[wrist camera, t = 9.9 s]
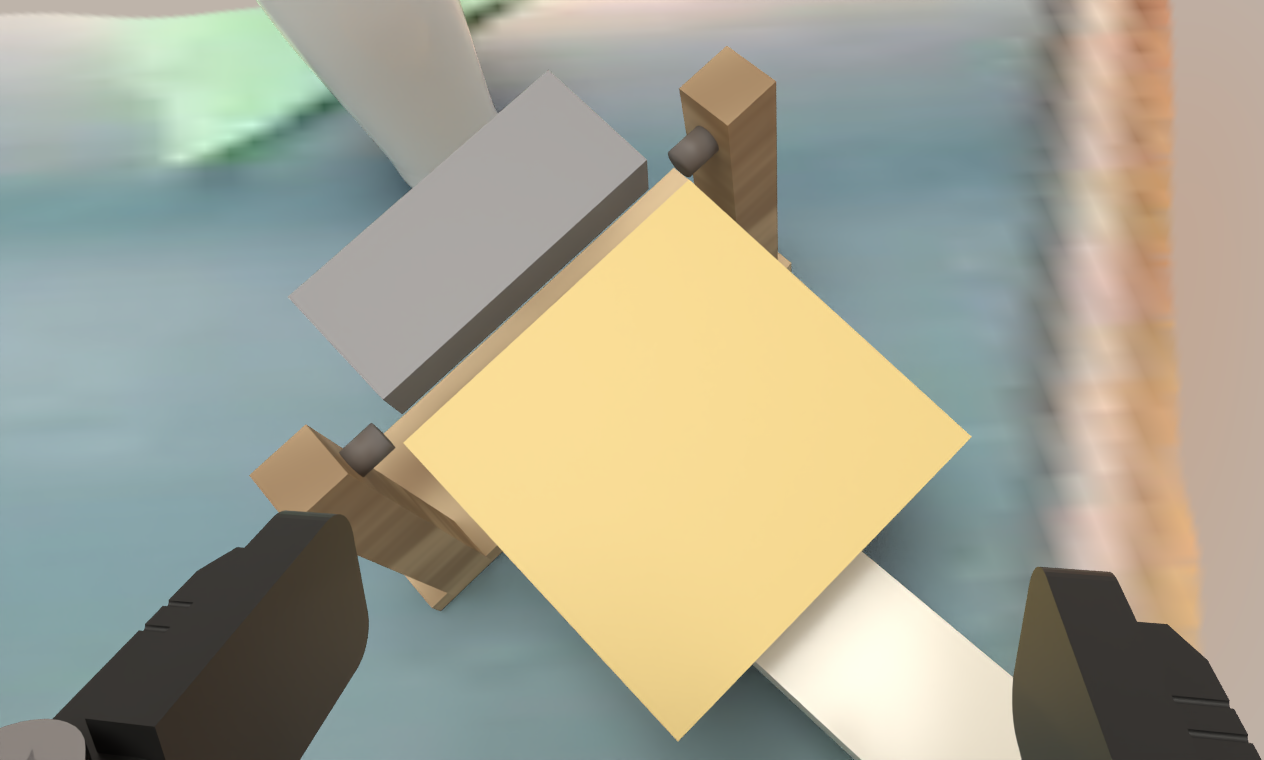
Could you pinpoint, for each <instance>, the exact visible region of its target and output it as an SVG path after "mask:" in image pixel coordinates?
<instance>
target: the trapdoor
mask: <svg viewBox="0 0 1264 760" xmlns="http://www.w3.org/2000/svg"><path fill="white" fill-rule="evenodd" d="M648 189H649V188H648V171H647V160H646V159H645V158H644V157H643V156H642V155H641V154H640V153H639V152H638V151H637V150H636V149H634V148H633V147H632V146H631V145H630V144H629V143H628V142H627V141H626V140H625V139H624V138H622V137H621V136H620V135H619V134H618V133H617V132H616V131H615V130H614V129H613V128H612V127H610V126H609V125H608V124H607V123H606V122H605V121H604V120H603V119H602V118H601V117H600V116H598V115H597V114H596V113H595V112H594V111H593V110H592V109H591V108H590V107H589V106H588V105H586V104H585V103H584V102H583V101H582V100H581V99H580V98H579V97H578V96H577V95H576V94H574V93H573V92H572V91H571V90H570V89H569V88H568V87H567V86H566V85H565V84H564V83H562V82H561V81H560V80H559V79H558V78H557V77H556V76H555V75H554V74H553V73H552V72H550V71H549V70H547V71H546V72H545V73H544V74H543V75H542V76H541V77H539V78H538V79H537V80H536V81H535V82H534V83H533V84H531V85H530V86H529V87H528V88H527V89H526V90H525V91H523V92H522V93H521V94H520V95H519V96H518V97H517V98H515V99H514V100H513V101H512V102H511V103H510V104H508V105H507V106H506V107H505V108H504V109H503V110H502V111H500V112H499V113H498V114H497V115H496V116H495V117H494V118H492V119H491V120H490V121H489V122H488V123H487V124H486V125H484V126H483V127H482V128H481V129H480V130H479V131H478V132H476V133H475V134H474V135H473V136H472V137H471V138H469V139H468V140H467V141H466V142H465V143H464V144H463V145H461V146H460V147H459V148H458V149H457V150H456V151H455V152H453V153H452V154H451V155H450V156H449V157H448V158H447V159H445V160H444V161H443V162H442V163H441V164H440V165H439V166H437V167H436V168H435V169H434V170H433V171H432V172H430V173H429V174H428V175H427V176H426V177H425V178H424V179H422V180H421V181H420V182H419V183H418V184H417V185H416V186H414V187H413V188H412V189H411V190H410V191H409V192H408V193H406V194H405V195H404V196H403V197H402V198H401V199H399V200H398V201H397V202H396V203H395V204H394V205H393V206H391V207H390V208H389V209H388V210H387V211H386V212H385V213H383V214H382V215H381V216H380V217H379V218H378V219H377V220H375V221H374V222H373V223H372V224H371V225H370V226H369V227H367V228H366V229H365V230H364V231H363V232H362V233H360V234H359V235H358V236H357V237H356V238H355V239H354V240H352V241H351V242H350V243H349V244H348V245H347V246H346V247H344V248H343V249H342V250H341V251H340V252H339V253H338V254H336V255H335V256H334V257H333V258H332V259H331V260H330V261H328V262H327V263H326V264H325V265H324V266H323V267H321V268H320V269H319V270H318V271H317V272H316V273H315V274H313V275H312V276H311V277H310V278H309V279H308V280H307V281H305V282H304V283H303V284H302V285H301V286H300V287H299V288H297V289H296V290H295V291H294V292H293V293H292V294H290V295H289V296H288V298H289V299H290V300H291V301H292V302H293V303H294V304H295V305H296V306H297V307H298V308H299V310H300V311H301V312H302V313H303V314H304V315H305V316H306V317H307V318H308V319H309V320H310V321H311V322H312V324H313V325H314V326H315V327H316V328H317V329H318V330H319V331H320V332H321V333H322V334H323V335H324V337H325V338H326V339H327V340H328V341H329V342H330V343H331V344H332V345H333V346H334V347H335V348H336V349H337V351H338V352H339V353H340V354H341V355H342V356H343V357H344V358H345V359H346V360H347V361H348V362H349V363H350V365H351V366H352V367H353V368H354V369H355V370H356V371H357V372H358V373H359V374H360V375H361V376H362V378H363V379H364V380H365V381H366V382H367V383H368V384H369V385H370V386H371V387H372V388H373V389H374V390H375V392H376V393H377V394H378V395H379V396H380V397H381V398H382V399H383V400H384V401H385V402H387V403H388V404H389V405H391V406H392V407H393V408H395V409H396V410H397V411H399V412H400V413H401V414H403V413H404V412H405V411H406V410H408V409H409V408H410V407H411V406H412V405H413V404H414V403H415V402H416V401H417V400H418V399H420V398H421V397H422V396H423V395H424V394H425V393H426V392H427V391H428V390H429V389H430V388H432V387H433V386H434V385H435V384H436V383H437V382H438V381H439V380H440V379H441V378H443V377H444V376H445V375H446V374H447V373H448V372H449V371H450V370H451V369H452V368H453V367H455V366H456V365H457V364H458V363H459V362H460V361H461V360H462V359H463V358H464V357H465V356H467V355H468V354H469V353H470V352H471V351H472V350H473V349H474V348H475V347H476V346H477V345H479V344H480V343H481V342H482V341H483V340H484V339H485V338H486V337H487V336H488V335H490V334H491V333H492V332H493V331H494V330H495V329H496V328H497V327H498V326H499V325H500V324H502V323H503V322H504V321H505V320H506V319H507V318H508V317H509V316H510V315H511V314H512V313H514V312H515V311H516V310H517V309H518V308H519V307H520V306H521V305H522V304H523V303H524V302H526V301H527V300H528V299H529V298H530V297H531V296H532V295H533V294H534V293H535V292H536V291H538V290H539V289H540V288H541V287H542V286H543V285H544V284H545V283H546V282H547V281H549V280H550V279H551V278H552V277H553V276H554V275H555V274H556V273H557V272H558V271H559V270H561V269H562V268H563V267H564V266H565V265H566V264H567V263H568V262H569V261H570V260H571V259H573V258H574V257H575V256H576V255H577V254H578V253H579V252H580V251H581V250H582V249H583V248H585V247H586V246H587V245H588V244H589V243H590V242H591V241H592V240H593V239H594V238H596V237H597V236H598V235H599V234H600V233H601V232H602V231H603V230H604V229H605V228H606V227H608V226H609V225H610V224H611V223H612V222H613V221H614V220H615V219H616V218H617V217H618V216H620V215H621V214H622V213H623V212H624V211H625V210H626V209H627V208H628V207H629V206H630V205H632V204H633V203H634V202H635V201H636V200H637V199H638V198H639V197H640V196H641V195H643V194H644V193H645V192H646V191H647V190H648ZM970 438H971V436H970V435H969V434H968V433H967V432H966V431H965V430H963V429H962V428H961V427H960V426H959V425H958V424H957V423H956V422H955V421H954V420H952V419H951V418H950V417H949V416H948V415H947V414H946V413H945V412H944V411H943V410H941V409H940V408H939V407H938V406H937V405H936V404H935V403H934V402H933V401H932V400H930V399H929V398H928V397H927V396H926V395H925V394H924V393H923V392H922V391H921V390H920V389H918V388H917V387H916V386H915V385H914V384H913V383H912V382H911V381H910V380H909V379H907V378H906V377H905V376H904V375H903V374H902V373H901V372H900V371H899V370H898V369H896V368H895V367H894V366H893V365H892V364H891V363H890V362H889V361H888V360H887V359H885V358H884V357H883V356H882V355H881V354H880V353H879V352H878V351H877V350H876V349H875V348H873V347H872V346H871V345H870V344H869V343H868V342H867V341H866V340H865V339H864V338H862V337H861V336H860V335H859V334H858V333H857V332H856V331H855V330H854V329H853V328H851V327H850V326H849V325H848V324H847V323H846V322H845V321H844V320H843V319H842V318H840V317H839V316H838V315H837V314H836V313H835V312H834V311H833V310H832V309H831V308H829V307H828V306H827V305H826V304H825V303H824V302H823V301H822V300H821V299H820V298H819V297H817V296H816V295H815V294H814V293H813V292H812V291H811V290H810V289H809V288H808V287H806V286H805V285H804V284H803V283H802V282H801V281H800V280H799V279H798V278H797V277H795V276H794V275H793V274H792V273H791V272H790V271H789V270H788V269H787V268H786V267H784V266H783V265H782V264H781V263H780V262H779V261H778V260H777V259H776V258H775V257H773V256H772V255H771V254H770V253H769V252H768V251H767V250H766V249H765V248H764V247H763V246H761V245H760V244H759V243H758V242H757V241H756V240H755V239H754V238H753V237H752V236H750V235H749V234H748V233H747V232H746V231H745V230H744V229H743V228H742V227H741V226H739V225H738V224H737V223H736V222H735V221H734V220H733V219H732V218H731V217H730V216H728V215H727V214H726V213H725V212H724V211H723V210H722V209H721V208H720V207H719V206H717V205H716V204H715V203H714V202H713V201H712V200H711V199H710V198H709V197H708V196H707V195H705V194H704V193H703V192H702V191H701V190H700V189H699V188H698V187H697V186H696V185H694V184H693V183H692V182H691V181H690V180H688V181H687V182H686V183H685V184H684V185H683V186H681V187H680V188H679V189H678V190H677V191H676V192H675V193H674V194H673V195H672V196H671V197H670V198H668V199H667V200H666V201H665V202H664V203H663V204H662V205H661V206H660V207H659V208H658V209H656V210H655V211H654V212H653V213H652V214H651V215H650V216H649V217H648V218H647V219H646V220H645V221H643V222H642V223H641V224H640V225H639V226H638V227H637V228H636V229H635V230H634V231H633V232H632V233H630V234H629V235H628V236H627V237H626V238H625V239H624V240H623V241H622V242H621V243H620V244H618V245H617V246H616V247H615V248H614V249H613V250H612V251H611V252H610V253H609V254H608V255H607V256H605V257H604V258H603V259H602V260H601V261H600V262H599V263H598V264H597V265H596V266H595V267H593V268H592V269H591V270H590V271H589V272H588V273H587V274H586V275H585V276H584V277H583V278H582V279H580V280H579V281H578V282H577V283H576V284H575V285H574V286H573V287H572V288H571V289H570V290H569V291H567V292H566V293H565V294H564V295H563V296H562V297H561V298H560V299H559V300H558V301H557V302H555V303H554V304H553V305H552V306H551V307H550V308H549V309H548V310H547V311H546V312H545V313H544V314H542V315H541V316H540V317H539V318H538V319H537V320H536V321H535V322H534V323H533V324H532V325H531V326H529V327H528V328H527V329H526V330H525V331H524V332H523V333H522V334H521V335H520V336H519V337H517V338H516V339H515V340H514V341H513V342H512V343H511V344H510V345H509V346H508V347H507V348H506V349H504V350H503V351H502V352H501V353H500V354H499V355H498V356H497V357H496V358H495V359H494V360H493V361H491V362H490V363H489V364H488V365H487V366H486V367H485V368H484V369H483V370H482V371H481V372H479V373H478V374H477V375H476V376H475V377H474V378H473V379H472V380H471V381H470V382H469V383H468V384H466V385H465V386H464V387H463V388H462V389H461V390H460V391H459V392H458V393H457V394H456V395H454V396H453V397H452V398H451V399H450V400H449V401H448V402H447V403H446V404H445V405H444V406H443V407H441V408H440V409H439V410H438V411H437V412H436V413H435V414H434V415H433V416H432V417H431V418H430V419H428V420H427V421H426V422H425V423H424V424H423V425H422V426H421V427H420V428H419V429H418V430H416V431H415V432H414V433H413V434H412V435H411V436H410V437H409V438H408V439H407V440H406V441H405V442H403V443H404V444H405V446H406V447H407V448H408V449H409V450H410V451H411V452H412V453H413V454H414V455H415V456H416V457H417V459H418V460H419V461H420V462H421V463H422V464H423V465H424V466H425V467H426V468H427V469H428V471H429V472H430V473H431V474H432V475H433V476H434V477H435V478H436V479H437V480H438V481H439V482H440V484H441V485H442V486H443V487H444V488H445V489H446V490H447V491H448V492H449V493H450V494H451V496H452V497H453V498H454V499H455V500H456V501H457V502H458V503H459V504H460V505H461V506H462V507H463V509H464V510H465V511H466V512H467V513H468V514H469V515H470V516H471V517H472V518H473V519H474V520H475V522H476V523H477V524H478V525H479V526H480V527H481V528H482V529H483V530H484V531H485V532H486V534H487V535H488V536H489V537H490V538H491V539H492V540H493V541H494V542H495V543H496V544H497V545H498V547H499V548H500V549H501V550H502V551H503V552H504V553H505V554H506V555H507V556H508V557H509V559H510V560H511V561H512V562H513V563H514V564H515V565H516V566H517V567H518V568H519V569H520V570H521V572H522V573H523V574H524V575H525V576H526V577H527V578H528V579H529V580H530V581H531V582H532V584H533V585H534V586H535V587H536V588H537V589H538V590H539V591H540V592H541V593H542V594H543V595H544V597H545V598H546V599H547V600H548V601H549V602H550V603H551V604H552V605H553V606H554V607H555V608H556V610H557V611H558V612H559V613H560V614H561V615H562V616H563V617H564V618H565V619H566V620H567V622H568V623H569V624H570V625H571V626H572V627H573V628H574V629H575V630H576V631H577V632H578V633H579V635H580V636H581V637H582V638H583V639H584V640H585V641H586V642H587V643H588V644H589V645H590V647H591V648H592V649H593V650H594V651H595V652H596V653H597V654H598V655H599V656H600V657H601V658H602V660H603V661H604V662H605V663H606V664H607V665H608V666H609V667H610V668H611V669H612V670H613V672H614V673H615V674H616V675H617V676H618V677H619V678H620V679H621V680H622V681H623V682H624V683H625V685H626V686H627V687H628V688H629V689H630V690H631V691H632V692H633V693H634V694H635V695H636V697H637V698H638V699H639V700H640V701H641V702H642V703H643V704H644V705H645V706H646V707H647V708H648V710H649V711H650V712H651V713H652V714H653V715H654V716H655V717H656V718H657V719H658V720H659V721H660V723H661V724H662V725H663V726H664V727H665V728H666V729H667V730H668V731H669V732H670V733H671V735H672V736H673V737H674V738H675V739H676V740H677V741H679V740H680V739H681V738H682V737H683V736H684V735H685V734H686V733H687V732H688V731H689V729H690V728H691V727H692V726H693V725H694V724H695V723H696V722H697V721H698V720H699V719H700V718H701V717H702V716H703V715H704V714H705V713H706V712H707V711H708V710H709V709H710V708H711V707H712V706H713V705H714V704H715V703H716V701H717V700H718V699H719V698H720V697H721V696H722V695H723V694H724V693H725V692H726V691H727V690H728V689H729V688H730V687H731V686H732V685H733V684H734V683H735V682H736V681H737V680H738V679H739V678H740V677H741V676H742V675H743V673H744V672H745V671H746V670H747V669H748V668H749V667H750V666H751V665H752V664H753V663H754V662H755V661H756V660H757V659H758V658H759V657H760V656H761V655H762V654H763V653H764V652H765V651H766V650H767V649H768V648H769V646H770V645H771V644H772V643H773V642H774V641H775V640H776V639H777V638H778V637H779V636H780V635H781V634H782V633H783V632H784V631H785V630H786V629H787V628H788V627H789V626H790V625H791V624H792V623H793V622H794V621H795V620H796V618H797V617H798V616H799V615H800V614H801V613H802V612H803V611H804V610H805V609H806V608H807V607H808V606H809V605H810V604H811V603H812V602H813V601H814V600H815V599H816V598H817V597H818V596H819V595H820V594H821V593H822V592H823V590H824V589H825V588H826V587H827V586H828V585H829V584H830V583H831V582H832V581H833V580H834V579H835V578H836V577H837V576H838V575H839V574H840V573H841V572H842V571H843V570H844V569H845V568H846V567H847V566H848V565H849V563H850V562H851V561H852V560H853V559H854V558H855V557H856V556H857V555H858V554H859V553H860V552H861V551H862V550H863V549H864V548H865V547H866V546H867V545H868V544H869V543H870V542H871V541H872V540H873V539H874V538H875V537H876V535H877V534H878V533H879V532H880V531H881V530H882V529H883V528H884V527H885V526H886V525H887V524H888V523H889V522H890V521H891V520H892V519H893V518H894V517H895V516H896V515H897V514H898V513H899V512H900V511H901V510H902V509H903V507H904V506H905V505H906V504H907V503H908V502H909V501H910V500H911V499H912V498H913V497H914V496H915V495H916V494H917V493H918V492H919V491H920V490H921V489H922V488H923V487H924V486H925V485H926V484H927V483H928V482H929V480H930V479H931V478H932V477H933V476H934V475H935V474H936V473H937V472H938V471H939V470H940V469H941V468H942V467H943V466H944V465H945V464H946V463H947V462H948V461H949V460H950V459H951V458H952V457H953V456H954V455H955V454H956V452H957V451H958V450H959V449H960V448H961V447H962V446H963V445H964V444H965V443H966V442H967V441H968V440H969V439H970Z"/></svg>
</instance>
